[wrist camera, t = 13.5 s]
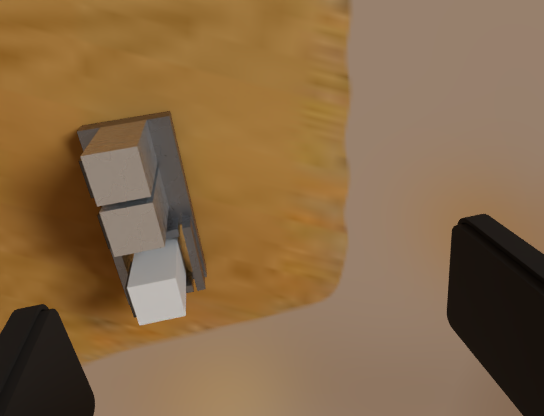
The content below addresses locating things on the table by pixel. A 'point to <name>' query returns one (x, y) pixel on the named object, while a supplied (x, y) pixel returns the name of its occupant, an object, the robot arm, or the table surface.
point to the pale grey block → (157, 283)
